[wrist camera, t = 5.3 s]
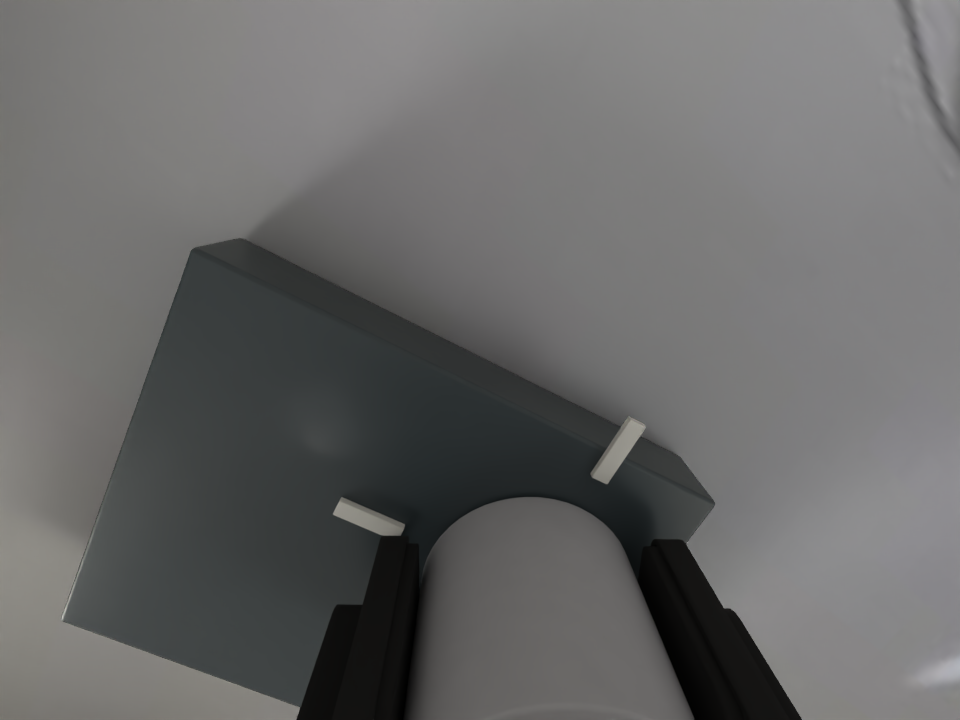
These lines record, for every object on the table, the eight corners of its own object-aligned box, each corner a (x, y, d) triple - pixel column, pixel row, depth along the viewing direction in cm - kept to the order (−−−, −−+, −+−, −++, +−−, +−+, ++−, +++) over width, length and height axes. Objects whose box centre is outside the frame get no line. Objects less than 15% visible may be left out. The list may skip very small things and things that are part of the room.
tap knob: (673, 580, 11) (810, 854, 7) (526, 696, 12) (557, 1004, 8) (525, 454, 10) (567, 670, 6) (378, 590, 11) (311, 869, 7)
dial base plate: (763, 460, 13) (819, 513, 11) (555, 729, 15) (568, 813, 13) (253, 199, 11) (201, 202, 9) (117, 559, 13) (51, 627, 11)
